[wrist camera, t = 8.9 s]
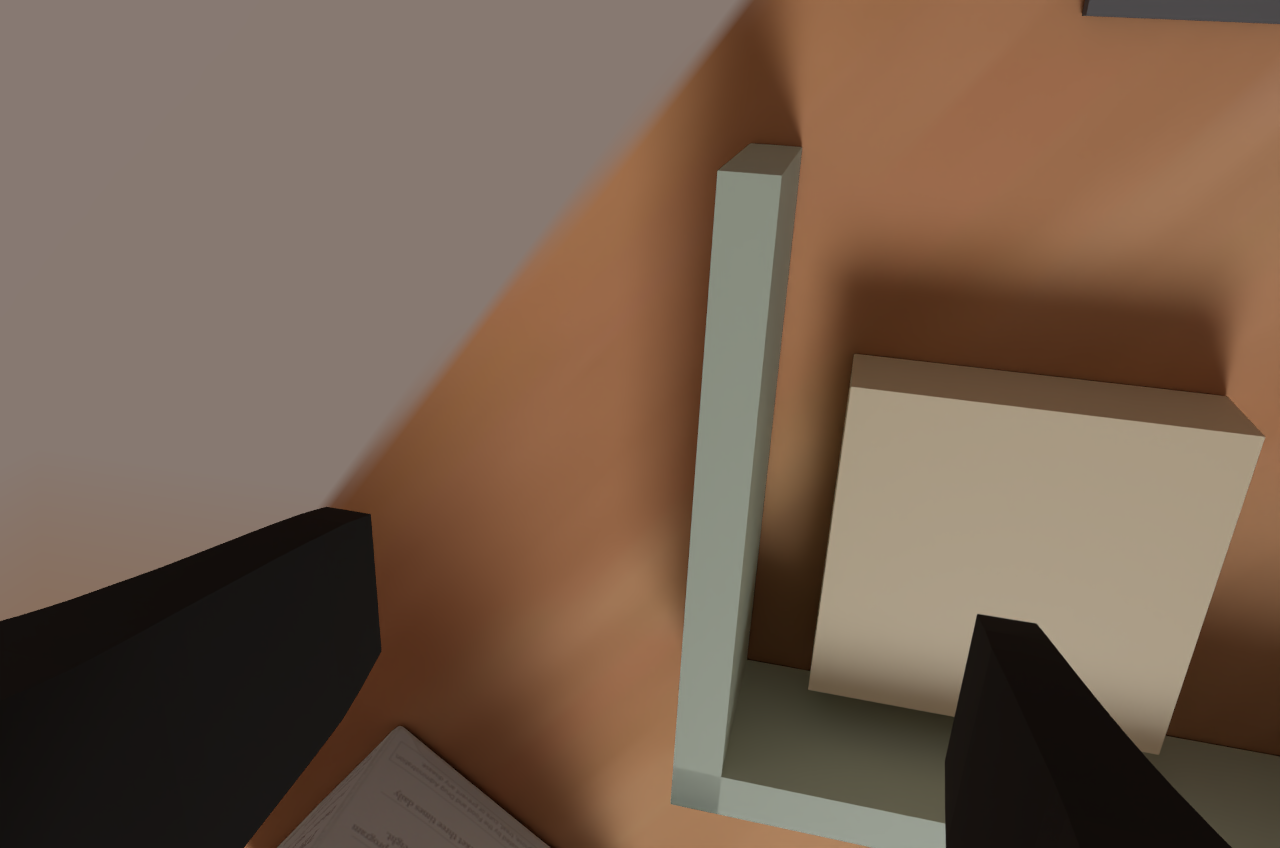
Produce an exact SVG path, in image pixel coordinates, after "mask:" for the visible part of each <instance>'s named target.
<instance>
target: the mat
mask: <svg viewBox="0 0 1280 848" xmlns="http://www.w3.org/2000/svg"><path fill="white" fill-rule="evenodd" d="M1082 16H1103V17H1127V18H1150V19H1174V20H1197V21H1221V22H1245V23H1268V24H1280V0H1085V3H1084V8H1083V12H1082Z"/></svg>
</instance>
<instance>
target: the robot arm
mask: <svg viewBox="0 0 1280 848" xmlns="http://www.w3.org/2000/svg"><path fill="white" fill-rule="evenodd" d="M380 653H381V639H380V627H379V614H378V601H377V588H376V576H375V563H374V550H373V538H372V525H371V514H366V513H360V512H354V511H348V510H342V509H336V508H330V507H324V508H321V509H317V510H313V511H310V512H306V513H303V514H300V515H297V516H294V517H292V518H289V519H286V520H283V521H280V522H278V523H275V524H272V525H269V526H267V527H264V528H262V529H259V530H257V531H254V532H251V533H249V534H246V535H243V536H241V537H238V538H236V539H233V540H231V541H228V542H225V543H223V544H220V545H218V546H215V547H213V548H210V549H207V550H205V551H202V552H200V553H197V554H195V555H192V556H190V557H187V558H184V559H182V560H180V561H177V562H174V563H172V564H169V565H166V566H164V567H161V568H158V569H156V570H153V571H150V572H148V573H145V574H142V575H139V576H136V577H134V578H131V579H128V580H125V581H122V582H119V583H116V584H113V585H111V586H108V587H105V588H102V589H99V590H97V591H94V592H91V593H88V594H85V595H83V596H80V597H77V598H74V599H71V600H68V601H65V602H62V603H59V604H56V605H53V606H50V607H46V608H44V609H40V610H37V611H34V612H30V613H27V614H24V615H20V616H17V617H13V618H10V619H6V620H3V621H0V848H244V847H245V846H246V844H247V843H248V842H249V840H250V839H251V838H252V837H253V835H254V834H255V833H256V831H257V830H258V829H259V828H260V826H261V825H262V824H263V822H264V821H265V820H266V819H267V817H268V816H269V815H270V813H271V812H272V811H273V810H274V808H275V807H276V806H277V804H278V803H279V802H280V801H281V799H282V798H283V797H284V795H285V794H286V793H287V792H288V790H289V789H290V788H291V786H292V785H293V784H294V783H295V781H296V780H297V779H298V777H299V776H300V775H301V774H302V772H303V771H304V770H305V768H306V767H307V766H308V764H309V763H310V762H311V761H312V759H313V758H314V757H315V755H316V754H317V753H318V751H319V750H320V749H321V747H322V746H323V745H324V743H325V742H326V741H327V740H328V738H329V737H330V736H331V734H332V733H333V732H334V730H335V729H336V727H337V726H338V725H339V723H340V722H341V721H342V719H343V718H344V716H345V714H346V713H347V711H348V709H349V708H350V706H351V704H352V703H353V701H354V699H355V698H356V696H357V694H358V693H359V691H360V689H361V688H362V686H363V684H364V682H365V680H366V678H367V677H368V675H369V673H370V671H371V669H372V667H373V666H374V664H375V662H376V660H377V658H378V656H379V655H380ZM945 832H946V848H1232V847H1231V846H1230V845H1229V844H1228V843H1227V842H1226V841H1225V840H1224V839H1223V838H1222V837H1221V836H1220V835H1219V834H1218V833H1217V832H1216V831H1215V830H1214V829H1213V828H1212V827H1211V826H1210V825H1209V824H1208V823H1207V822H1206V821H1205V820H1204V819H1203V817H1202V816H1201V815H1200V814H1199V813H1198V812H1197V811H1196V810H1195V809H1194V808H1193V807H1192V806H1191V805H1190V804H1189V803H1188V802H1187V801H1186V800H1185V799H1184V798H1183V797H1182V796H1181V795H1180V794H1179V793H1178V791H1177V790H1176V789H1175V788H1174V787H1173V786H1172V785H1171V784H1170V783H1169V782H1168V781H1167V780H1166V779H1165V777H1164V776H1163V775H1162V774H1161V773H1160V772H1159V771H1158V770H1157V769H1156V768H1155V766H1154V765H1153V764H1152V763H1151V762H1150V761H1149V760H1148V759H1147V758H1146V756H1145V755H1144V754H1143V753H1142V752H1141V751H1140V750H1139V748H1138V747H1137V746H1136V745H1135V744H1134V743H1133V742H1132V740H1131V739H1130V738H1129V737H1128V736H1127V734H1126V733H1125V732H1124V731H1123V730H1122V729H1121V727H1120V726H1119V725H1118V724H1117V723H1116V722H1115V720H1114V719H1113V718H1112V717H1111V716H1110V714H1109V713H1108V712H1107V711H1106V709H1105V708H1104V707H1103V706H1102V705H1101V703H1100V702H1099V701H1098V700H1097V699H1096V697H1095V696H1094V695H1093V694H1092V692H1091V691H1090V690H1089V689H1088V687H1087V686H1086V685H1085V684H1084V682H1083V681H1082V680H1081V679H1080V677H1079V676H1078V675H1077V674H1076V672H1075V671H1074V670H1073V669H1072V667H1071V666H1070V665H1069V663H1068V662H1067V661H1066V660H1065V658H1064V657H1063V656H1062V655H1061V653H1060V652H1059V651H1058V649H1057V648H1056V647H1055V646H1054V644H1053V643H1052V642H1051V641H1050V639H1049V638H1048V637H1047V636H1046V634H1045V633H1044V632H1043V631H1042V629H1041V628H1040V627H1039V626H1038V625H1037V623H1031V622H1024V621H1018V620H1012V619H1006V618H1000V617H994V616H988V615H982V614H977V617H976V621H975V626H974V631H973V635H972V640H971V644H970V649H969V653H968V658H967V662H966V667H965V671H964V676H963V680H962V685H961V690H960V694H959V699H958V703H957V708H956V712H955V717H954V721H953V726H952V730H951V735H950V740H949V744H948V749H947V753H946V758H945Z"/></svg>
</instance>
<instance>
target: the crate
mask: <svg viewBox="0 0 1280 848" xmlns="http://www.w3.org/2000/svg"><path fill="white" fill-rule="evenodd" d="M801 155H802V147H796V146H782V145H768V144H754V143H750V144H749V145H748V146H747V147H745V148H744V149H743V150H742V151H740V152H739V153H738V154H737V155H736V156H734V157H733V158H732V159H731V160H730V161H728V162H727V163H726V164H725V165H724V166H722V167H721V168H720V169H719V170H718V171H717V184H716V198H715V211H714V225H713V238H712V252H711V265H710V279H709V292H708V306H707V319H706V333H705V346H704V360H703V373H702V387H701V400H700V414H699V427H698V441H697V454H696V468H695V481H694V495H693V508H692V522H691V535H690V548H689V562H688V575H687V589H686V602H685V616H684V629H683V643H682V656H681V670H680V683H679V697H678V710H677V724H676V737H675V751H674V764H673V778H672V791H671V804H673V805H678V806H682V807H687V808H692V809H696V810H701V811H706V812H710V813H715V814H719V815H724V816H729V817H733V818H738V819H743V820H747V821H752V822H756V823H761V824H766V825H770V826H775V827H780V828H784V829H789V830H794V831H798V832H803V833H807V834H812V835H817V836H821V837H826V838H831V839H835V840H840V841H844V842H849V843H854V844H858V845H863V846H868V847H872V848H946V832H945V758H946V753H947V749H948V744H949V740H950V735H951V730H952V726H953V721H954V717H955V712H956V708H957V703H958V699H959V694H960V690H961V685H962V680H963V676H964V671H965V667H966V662H967V658H968V653H969V649H970V644H971V640H972V635H973V631H974V626H975V621H976V617H977V614H982V615H988V616H994V617H1000V618H1006V619H1012V620H1018V621H1024V622H1031V623H1037V625H1038V626H1039V627H1040V628H1041V629H1042V631H1043V632H1044V633H1045V634H1046V636H1047V637H1048V638H1049V639H1050V641H1051V642H1052V643H1053V644H1054V646H1055V647H1056V648H1057V649H1058V651H1059V652H1060V653H1061V655H1062V656H1063V657H1064V658H1065V660H1066V661H1067V662H1068V663H1069V665H1070V666H1071V667H1072V669H1073V670H1074V671H1075V672H1076V674H1077V675H1078V676H1079V677H1080V679H1081V680H1082V681H1083V682H1084V684H1085V685H1086V686H1087V687H1088V689H1089V690H1090V691H1091V692H1092V694H1093V695H1094V696H1095V697H1096V699H1097V700H1098V701H1099V702H1100V703H1101V705H1102V706H1103V707H1104V708H1105V709H1106V711H1107V712H1108V713H1109V714H1110V716H1111V717H1112V718H1113V719H1114V720H1115V722H1116V723H1117V724H1118V725H1119V726H1120V727H1121V729H1122V730H1123V731H1124V732H1125V733H1126V734H1127V736H1128V737H1129V738H1130V739H1131V740H1132V742H1133V743H1134V744H1135V745H1136V746H1137V747H1138V748H1139V750H1140V751H1141V752H1142V753H1143V754H1144V755H1145V756H1146V758H1147V759H1148V760H1149V761H1150V762H1151V763H1152V764H1153V765H1154V766H1155V768H1156V769H1157V770H1158V771H1159V772H1160V773H1161V774H1162V775H1163V776H1164V777H1165V779H1166V780H1167V781H1168V782H1169V783H1170V784H1171V785H1172V786H1173V787H1174V788H1175V789H1176V790H1177V791H1178V793H1179V794H1180V795H1181V796H1182V797H1183V798H1184V799H1185V800H1186V801H1187V802H1188V803H1189V804H1190V805H1191V806H1192V807H1193V808H1194V809H1195V810H1196V811H1197V812H1198V813H1199V814H1200V815H1201V816H1202V817H1203V819H1204V820H1205V821H1206V822H1207V823H1208V824H1209V825H1210V826H1211V827H1212V828H1213V829H1214V830H1215V831H1216V832H1217V833H1218V834H1219V835H1220V836H1221V837H1222V838H1223V839H1224V840H1225V841H1226V842H1227V843H1228V844H1229V845H1230V846H1231V847H1232V848H1280V756H1274V755H1269V754H1263V753H1258V752H1252V751H1247V750H1241V749H1236V748H1230V747H1225V746H1219V745H1214V744H1208V743H1203V742H1197V741H1192V740H1186V739H1181V738H1175V737H1170V736H1165V735H1166V732H1167V729H1168V726H1169V723H1170V720H1171V717H1172V714H1173V711H1174V708H1175V705H1176V702H1177V699H1178V696H1179V693H1180V690H1181V687H1182V684H1183V681H1184V678H1185V675H1186V672H1187V669H1188V666H1189V663H1190V660H1191V658H1192V655H1193V652H1194V649H1195V646H1196V643H1197V640H1198V637H1199V634H1200V631H1201V628H1202V625H1203V622H1204V619H1205V616H1206V613H1207V610H1208V607H1209V604H1210V601H1211V598H1212V595H1213V592H1214V589H1215V586H1216V583H1217V580H1218V577H1219V574H1220V571H1221V568H1222V565H1223V562H1224V559H1225V556H1226V553H1227V550H1228V547H1229V544H1230V541H1231V538H1232V535H1233V532H1234V529H1235V526H1236V523H1237V520H1238V517H1239V514H1240V511H1241V508H1242V505H1243V502H1244V499H1245V496H1246V493H1247V490H1248V487H1249V484H1250V481H1251V478H1252V475H1253V472H1254V469H1255V466H1256V463H1257V460H1258V457H1259V454H1260V451H1261V448H1262V445H1263V442H1264V439H1265V436H1264V435H1263V434H1262V433H1261V432H1260V431H1259V430H1258V429H1257V428H1256V426H1255V425H1254V424H1253V423H1252V422H1251V421H1250V420H1249V419H1248V418H1247V417H1246V416H1245V415H1244V414H1243V413H1242V412H1241V410H1240V409H1239V408H1238V407H1237V406H1236V405H1235V404H1234V403H1233V402H1232V401H1231V400H1230V399H1229V398H1228V397H1227V396H1220V395H1211V394H1202V393H1194V392H1185V391H1176V390H1167V389H1159V388H1150V387H1141V386H1132V385H1124V384H1115V383H1106V382H1097V381H1089V380H1080V379H1071V378H1062V377H1054V376H1045V375H1036V374H1028V373H1019V372H1010V371H1001V370H993V369H984V368H975V367H966V366H958V365H949V364H940V363H931V362H923V361H914V360H905V359H896V358H888V357H879V356H870V355H861V354H854V358H853V365H852V372H851V379H850V386H849V393H848V400H847V408H846V415H845V422H844V429H843V436H842V443H841V450H840V457H839V464H838V472H837V479H836V486H835V493H834V500H833V507H832V514H831V521H830V529H829V536H828V543H827V550H826V557H825V564H824V571H823V578H822V585H821V593H820V600H819V607H818V614H817V621H816V628H815V635H814V644H813V652H812V661H811V669H810V671H807V670H801V669H796V668H790V667H785V666H779V665H774V664H768V663H763V662H757V661H752V660H747V656H748V646H749V637H750V628H751V619H752V609H753V600H754V591H755V582H756V572H757V563H758V554H759V544H760V535H761V526H762V517H763V507H764V498H765V489H766V479H767V470H768V461H769V452H770V442H771V433H772V424H773V414H774V405H775V396H776V387H777V377H778V368H779V359H780V350H781V340H782V331H783V322H784V312H785V303H786V294H787V285H788V275H789V266H790V257H791V247H792V238H793V229H794V220H795V210H796V201H797V192H798V182H799V173H800V164H801Z"/></svg>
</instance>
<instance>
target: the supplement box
mask: <svg viewBox="0 0 1280 848" xmlns="http://www.w3.org/2000/svg"><path fill="white" fill-rule="evenodd" d="M277 848H550V847H549V846H548V845H547V844H545V843H544V842H543V841H542V840H540V839H539V838H538V837H537V836H536V835H534V834H533V833H532V832H531V831H529V830H528V829H527V828H526V827H524V826H523V825H522V824H521V823H520V822H518V821H517V820H516V819H515V818H513V817H512V816H511V815H510V814H508V813H507V812H506V811H505V810H504V809H502V808H501V807H500V806H499V805H498V804H496V803H495V802H494V801H493V800H492V799H490V798H489V797H488V796H487V795H486V794H484V793H483V792H482V791H481V790H479V789H478V788H477V787H476V786H474V785H473V784H472V783H471V782H469V781H468V780H467V779H466V778H464V777H463V776H462V775H461V774H460V773H458V772H457V771H456V770H455V769H454V768H452V767H451V766H450V765H449V764H448V763H446V762H445V761H444V760H443V759H441V758H440V757H439V756H438V755H437V754H435V753H434V752H433V751H432V750H430V749H429V748H428V747H427V746H426V745H424V744H423V743H422V742H421V741H419V740H418V739H417V738H416V737H415V736H414V735H412V734H411V733H410V732H409V731H408V730H406V729H405V728H404V727H403V726H398V727H397V728H395V729H394V730H392V731H391V732H390V734H389V735H388V736H387V737H386V738H385V739H384V740H383V741H382V742H381V743H380V744H379V745H378V746H377V747H376V748H375V749H374V750H373V751H372V752H371V753H370V754H369V755H368V756H367V757H366V758H365V759H364V760H363V761H362V762H361V763H360V764H359V765H358V766H357V767H356V768H355V769H354V770H353V771H352V772H351V773H350V774H349V775H348V776H347V777H346V778H345V779H344V780H343V781H342V782H341V783H340V784H339V785H338V786H337V787H336V788H335V789H334V790H333V791H332V792H331V793H330V794H329V795H328V796H327V797H326V798H325V799H324V800H323V801H322V802H321V803H320V804H319V805H318V806H317V807H316V808H315V809H314V810H313V811H312V812H311V813H310V814H309V815H308V816H307V817H306V818H305V819H304V820H303V821H302V822H301V823H300V824H299V825H298V826H297V828H296V829H295V830H294V831H293V832H292V833H291V834H290V835H289V836H288V837H287V838H286V839H285V840H284V841H283V842H282V843H281V844H280V845H279V846H278V847H277Z"/></svg>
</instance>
